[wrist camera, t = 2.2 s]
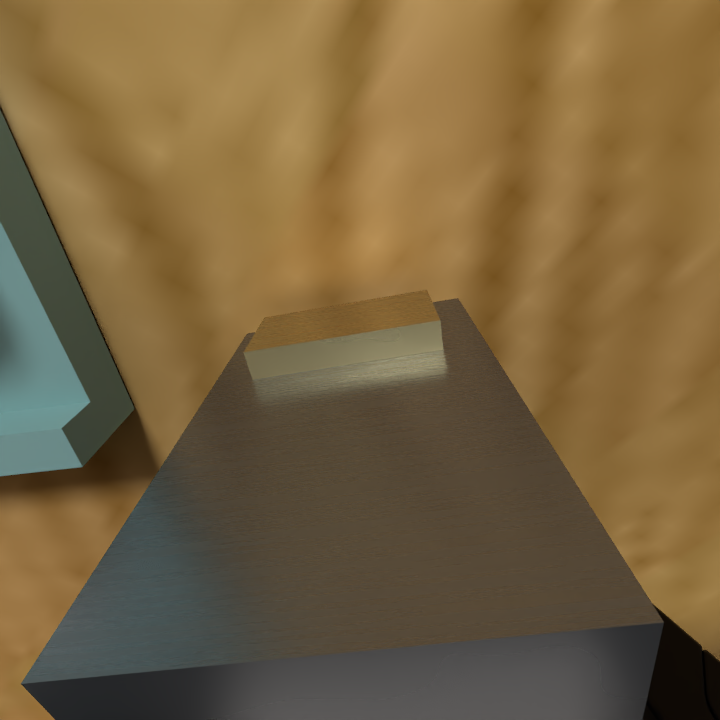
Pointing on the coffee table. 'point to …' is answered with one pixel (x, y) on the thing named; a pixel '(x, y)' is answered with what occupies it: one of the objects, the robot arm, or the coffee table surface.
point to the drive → (358, 548)
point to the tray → (47, 340)
